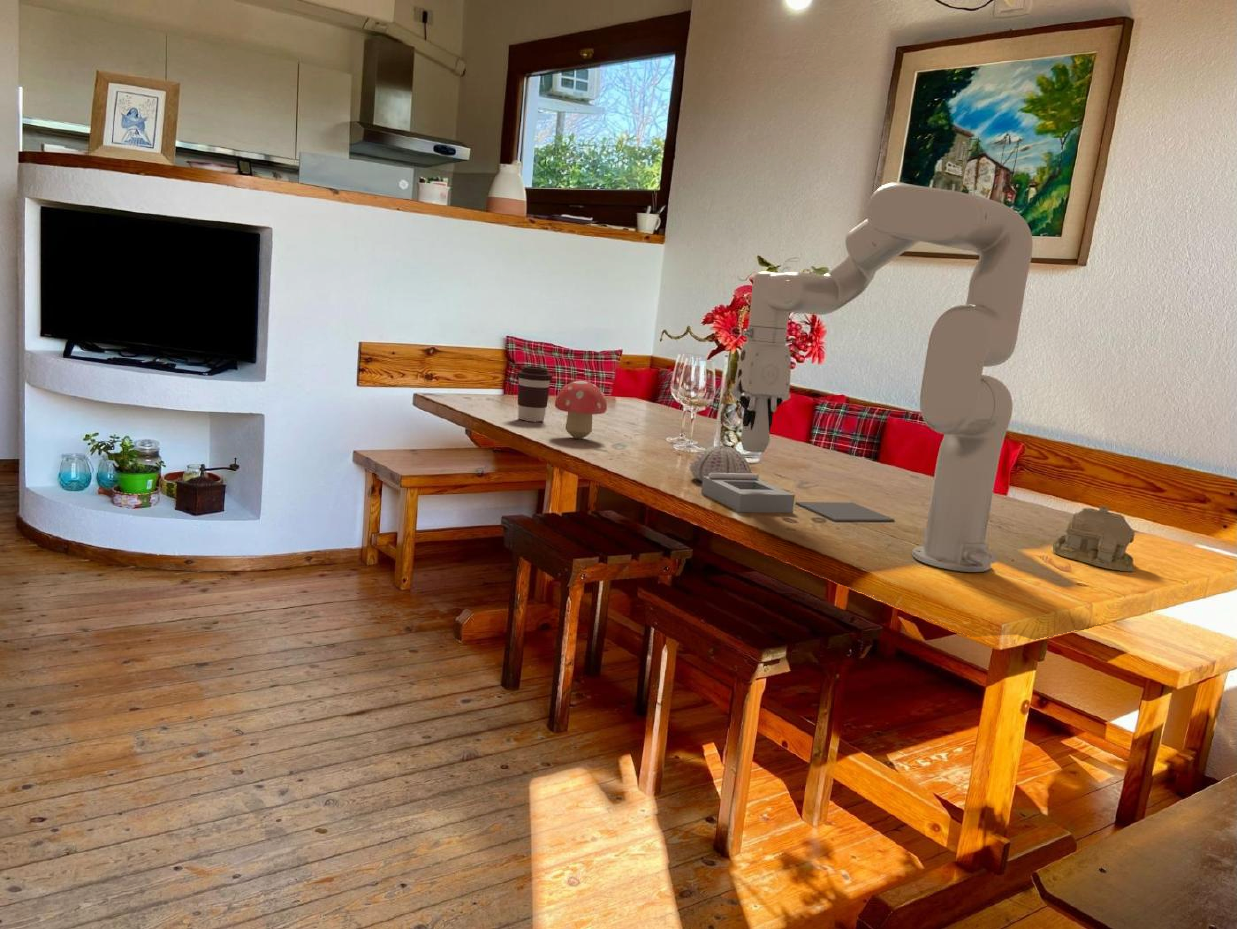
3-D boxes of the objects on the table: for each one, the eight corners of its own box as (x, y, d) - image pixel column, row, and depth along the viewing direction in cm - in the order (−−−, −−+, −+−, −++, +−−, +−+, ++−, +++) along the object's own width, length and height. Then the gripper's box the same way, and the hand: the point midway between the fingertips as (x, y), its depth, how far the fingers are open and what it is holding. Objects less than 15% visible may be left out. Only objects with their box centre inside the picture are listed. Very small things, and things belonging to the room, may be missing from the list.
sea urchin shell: (736, 477, 228) (740, 442, 226) (759, 490, 215) (763, 453, 213) (680, 474, 224) (684, 439, 223) (700, 488, 211) (705, 450, 210)
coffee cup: (555, 422, 284) (560, 369, 282) (534, 424, 276) (539, 370, 273) (527, 416, 289) (531, 364, 287) (506, 418, 281) (510, 365, 278)
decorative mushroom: (541, 434, 259) (546, 377, 257) (580, 433, 268) (586, 377, 266) (574, 444, 250) (579, 384, 247) (614, 442, 259) (620, 384, 256)
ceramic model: (1141, 565, 181) (1152, 511, 180) (1129, 576, 173) (1140, 519, 171) (1060, 547, 190) (1069, 495, 188) (1044, 556, 181) (1053, 502, 179)
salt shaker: (767, 454, 195) (774, 387, 193) (738, 451, 196) (745, 384, 194) (769, 450, 201) (776, 385, 199) (740, 447, 202) (747, 382, 200)
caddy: (792, 512, 196) (795, 488, 195) (738, 512, 191) (741, 488, 190) (752, 493, 210) (754, 471, 209) (701, 492, 206) (703, 470, 205)
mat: (894, 521, 197) (894, 519, 197) (834, 521, 191) (834, 519, 191) (852, 504, 209) (852, 502, 209) (795, 504, 204) (795, 502, 204)
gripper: (739, 335, 188) (728, 432, 191) (813, 340, 194) (802, 434, 198) (720, 332, 195) (710, 426, 198) (792, 338, 201) (782, 428, 204)
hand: (756, 429), depth 198 cm, fingers closed on salt shaker, 3 cm apart
